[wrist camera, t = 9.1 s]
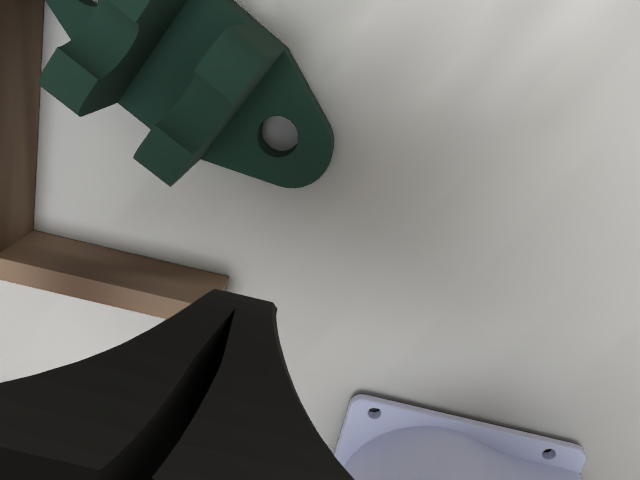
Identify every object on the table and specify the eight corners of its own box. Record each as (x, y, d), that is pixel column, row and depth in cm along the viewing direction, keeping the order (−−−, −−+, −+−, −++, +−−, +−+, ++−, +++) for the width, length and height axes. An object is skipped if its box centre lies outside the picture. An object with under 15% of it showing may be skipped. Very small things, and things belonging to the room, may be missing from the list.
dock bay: (324, -234, 16) (317, -274, 14) (225, 295, 22) (208, 328, 20) (29, -308, 16) (-28, -361, 14) (11, 244, 22) (-31, 272, 20)
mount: (367, 115, 20) (368, 148, 15) (285, 211, 21) (262, 268, 17) (93, -123, 18) (-3, -168, 13) (22, 1, 19) (-87, -1, 15)
